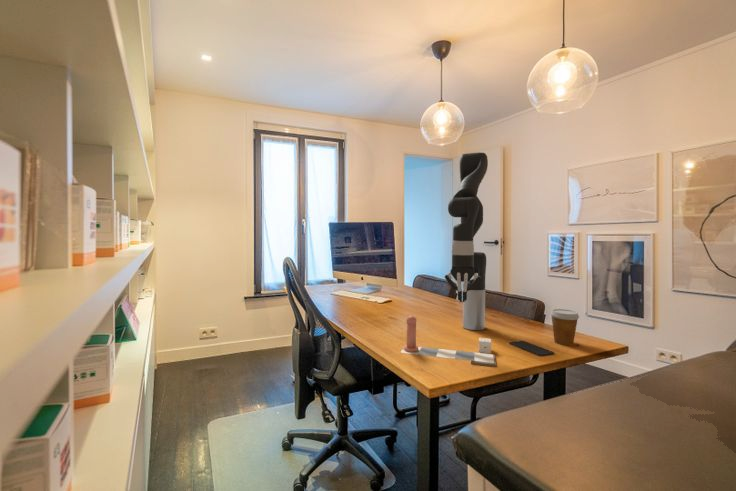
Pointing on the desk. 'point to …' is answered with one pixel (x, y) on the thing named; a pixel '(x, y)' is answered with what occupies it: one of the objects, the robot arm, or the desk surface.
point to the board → (457, 355)
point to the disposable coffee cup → (564, 325)
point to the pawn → (411, 335)
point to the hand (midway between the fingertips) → (462, 301)
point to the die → (484, 345)
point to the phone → (531, 348)
